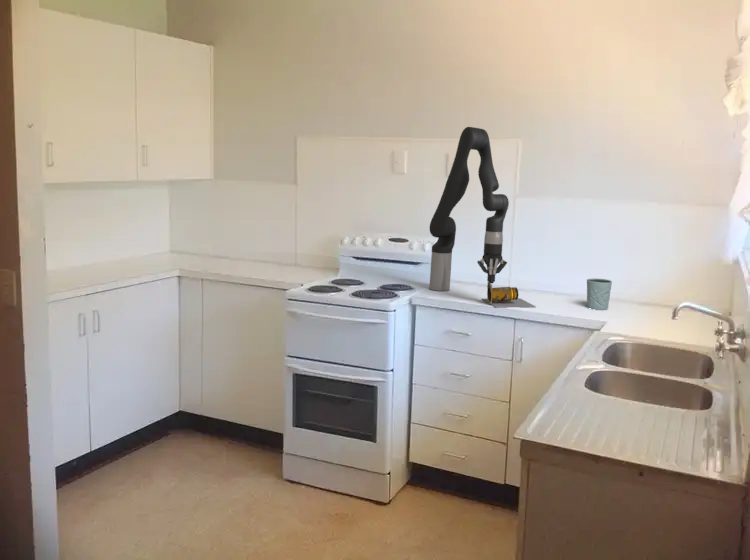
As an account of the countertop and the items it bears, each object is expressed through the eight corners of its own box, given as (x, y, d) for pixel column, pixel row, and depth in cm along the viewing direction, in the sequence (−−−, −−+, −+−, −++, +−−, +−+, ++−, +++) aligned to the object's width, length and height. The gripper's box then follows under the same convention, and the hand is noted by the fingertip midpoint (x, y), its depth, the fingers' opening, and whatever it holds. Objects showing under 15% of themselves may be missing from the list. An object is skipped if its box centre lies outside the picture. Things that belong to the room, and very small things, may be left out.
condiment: (491, 304, 317) (519, 302, 318) (491, 284, 315) (519, 283, 316) (486, 300, 324) (514, 299, 325) (486, 281, 322) (514, 279, 324)
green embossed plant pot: (610, 311, 316) (613, 283, 313) (585, 309, 318) (587, 281, 315) (607, 306, 325) (610, 279, 323) (583, 304, 327) (586, 277, 325)
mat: (481, 299, 328) (481, 298, 328) (520, 299, 332) (520, 298, 332) (495, 307, 313) (495, 306, 313) (535, 307, 317) (535, 306, 317)
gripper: (504, 241, 321) (502, 281, 324) (475, 240, 318) (472, 281, 321) (511, 243, 314) (509, 284, 317) (481, 243, 311) (479, 284, 314)
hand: (490, 283), depth 319 cm, fingers closed
